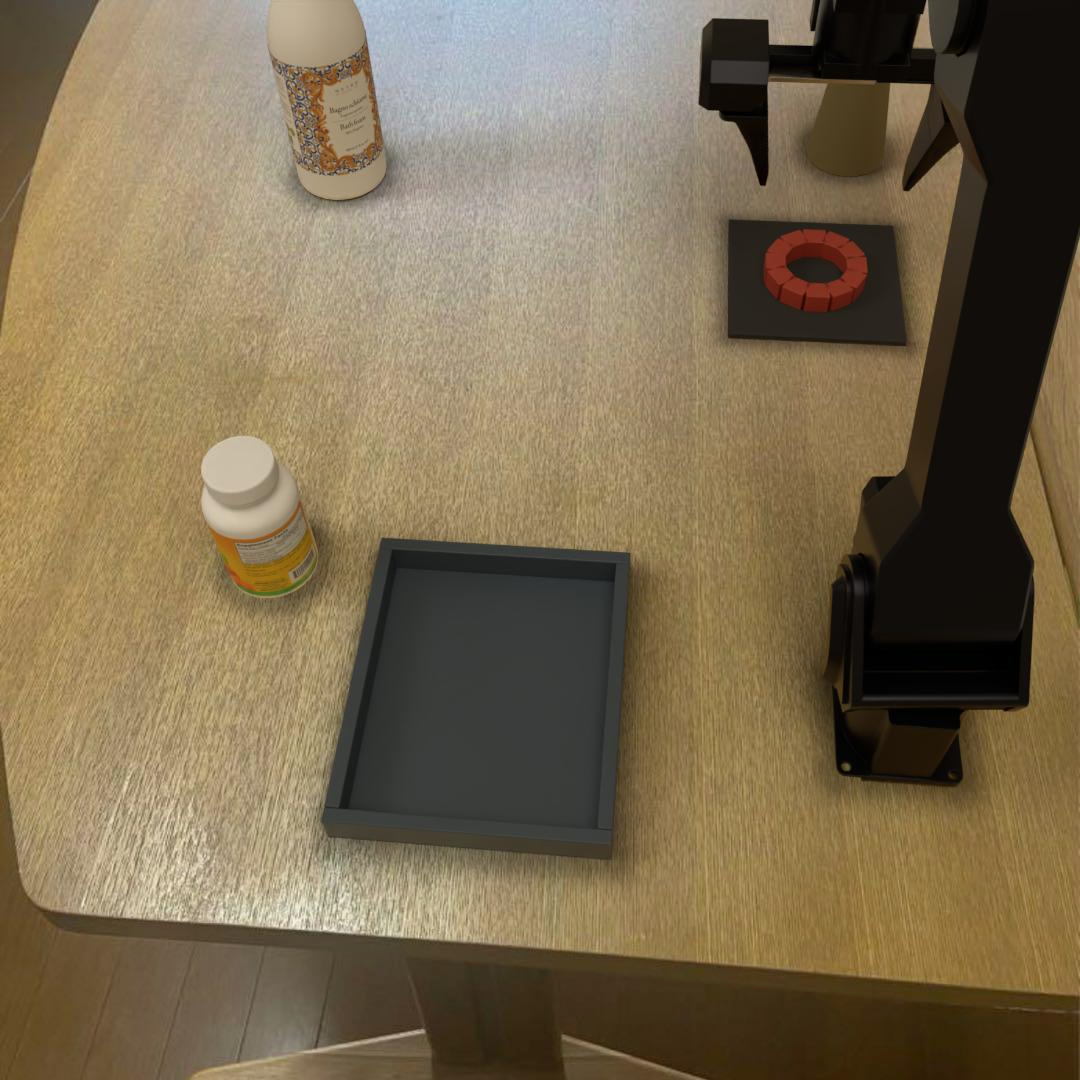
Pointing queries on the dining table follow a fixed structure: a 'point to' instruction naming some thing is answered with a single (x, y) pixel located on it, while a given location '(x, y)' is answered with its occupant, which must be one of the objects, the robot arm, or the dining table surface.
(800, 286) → the ring
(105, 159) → the dining table surface
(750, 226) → the mat
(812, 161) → the cork
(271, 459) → the supplement bottle
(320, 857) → the dining table surface
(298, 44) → the bath foam
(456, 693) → the tray
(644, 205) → the dining table surface
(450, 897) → the dining table surface
